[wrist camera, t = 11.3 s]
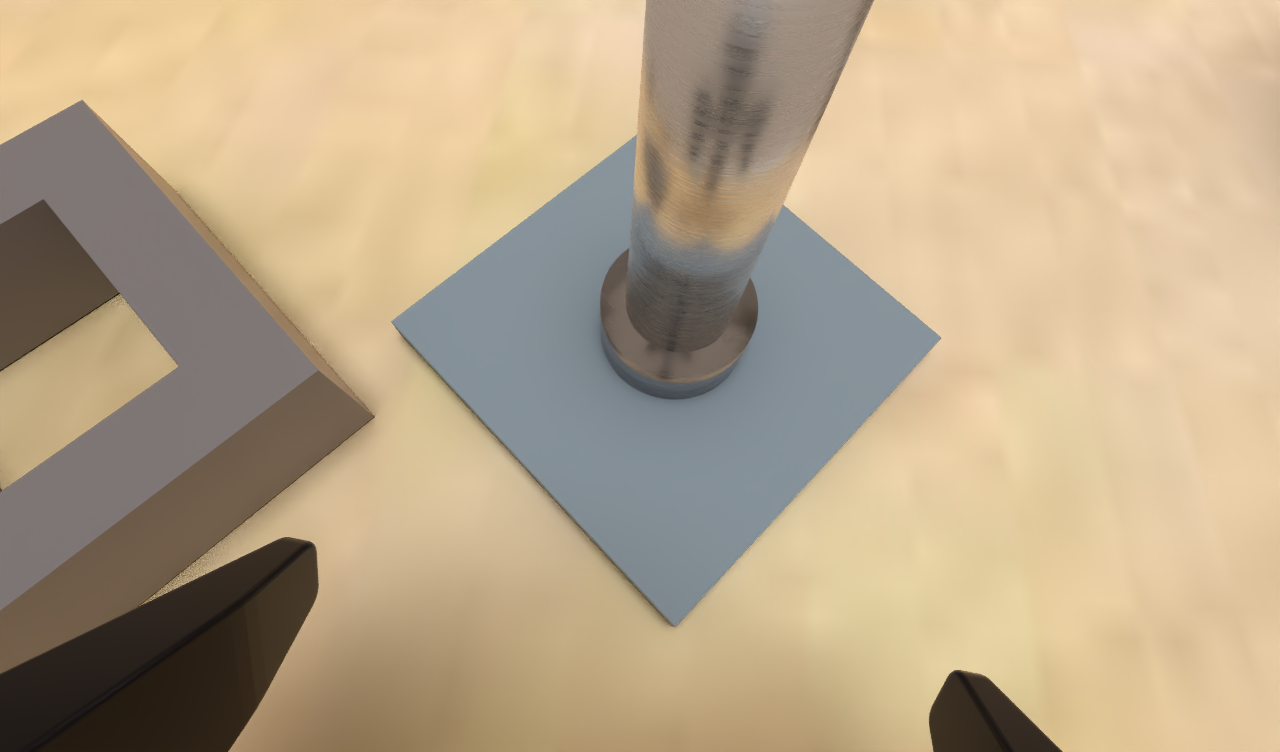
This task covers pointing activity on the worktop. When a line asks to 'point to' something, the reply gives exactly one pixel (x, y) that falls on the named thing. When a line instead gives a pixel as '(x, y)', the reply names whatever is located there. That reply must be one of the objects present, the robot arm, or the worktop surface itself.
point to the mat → (654, 427)
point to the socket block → (161, 415)
